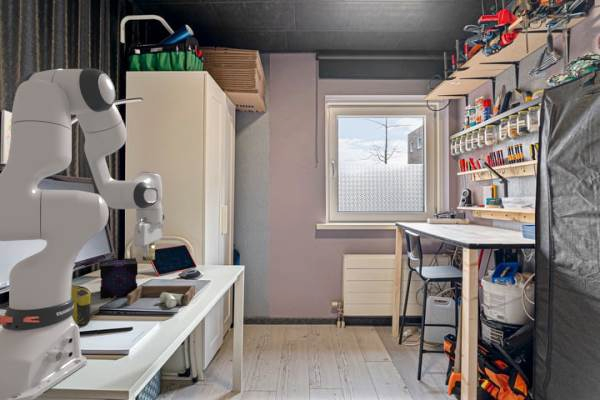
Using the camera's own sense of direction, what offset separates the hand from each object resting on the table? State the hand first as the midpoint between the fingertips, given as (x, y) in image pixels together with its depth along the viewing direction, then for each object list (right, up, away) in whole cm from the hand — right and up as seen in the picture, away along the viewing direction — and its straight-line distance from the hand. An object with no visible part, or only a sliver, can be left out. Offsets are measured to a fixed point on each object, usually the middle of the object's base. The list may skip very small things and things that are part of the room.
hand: (148, 254), depth 128 cm
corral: (+6, -16, -2) cm, 17 cm away
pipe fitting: (+10, -16, -7) cm, 21 cm away
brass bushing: (0, -2, 0) cm, 2 cm away
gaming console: (-17, -16, -20) cm, 31 cm away
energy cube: (-14, -16, +5) cm, 21 cm away
